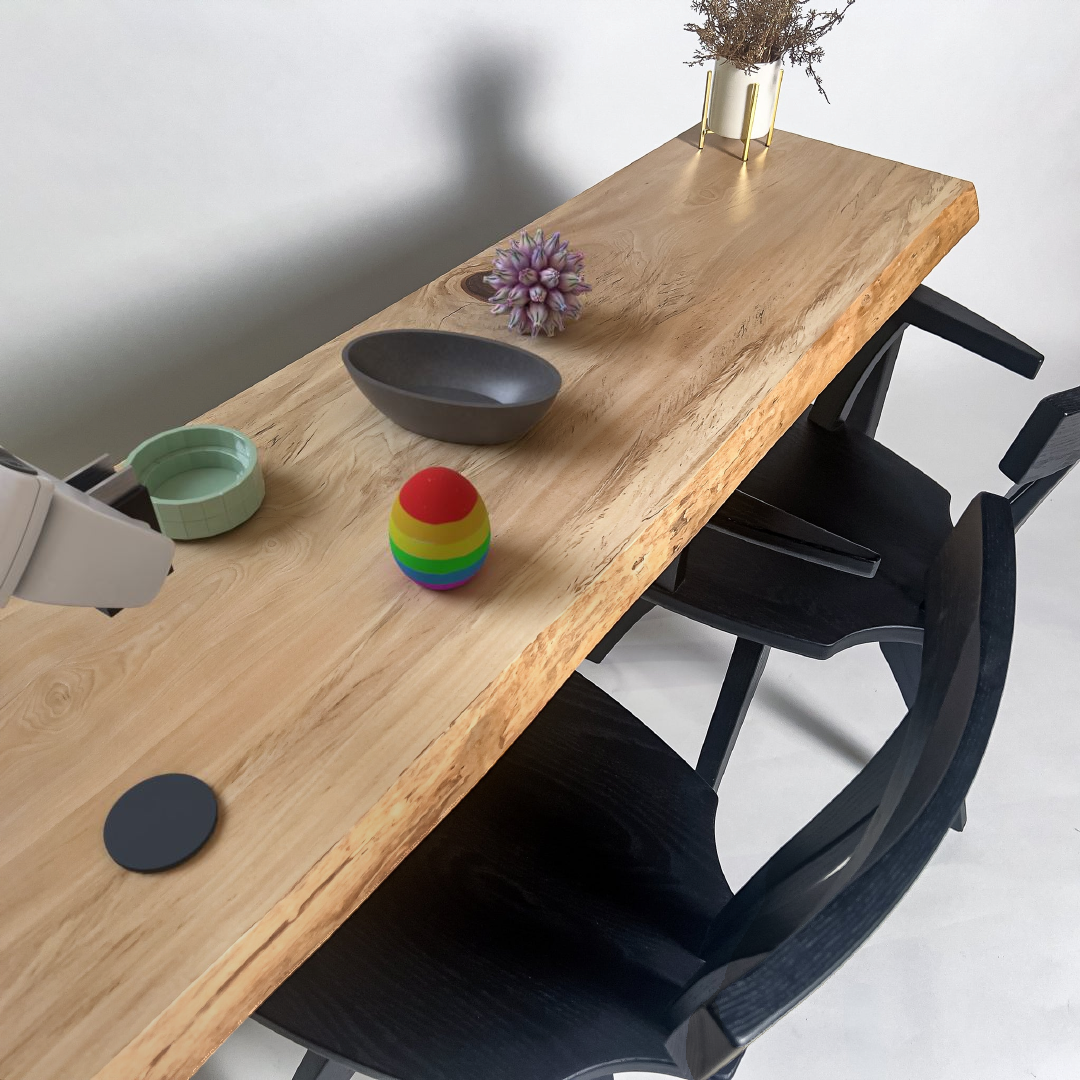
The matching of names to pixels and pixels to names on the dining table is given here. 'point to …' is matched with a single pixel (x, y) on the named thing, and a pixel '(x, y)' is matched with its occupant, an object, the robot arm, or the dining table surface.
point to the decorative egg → (439, 529)
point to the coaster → (160, 823)
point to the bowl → (452, 383)
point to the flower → (537, 283)
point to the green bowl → (200, 479)
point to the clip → (116, 495)
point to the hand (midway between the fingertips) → (114, 520)
